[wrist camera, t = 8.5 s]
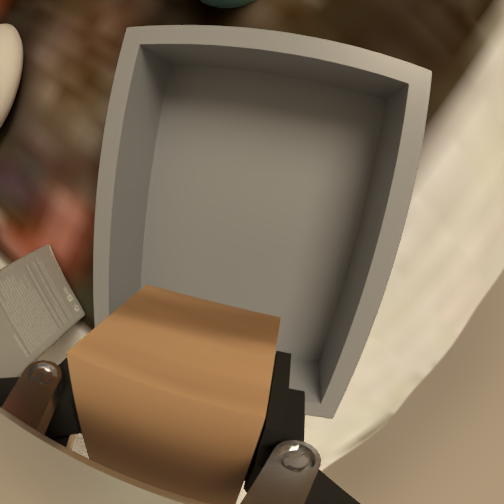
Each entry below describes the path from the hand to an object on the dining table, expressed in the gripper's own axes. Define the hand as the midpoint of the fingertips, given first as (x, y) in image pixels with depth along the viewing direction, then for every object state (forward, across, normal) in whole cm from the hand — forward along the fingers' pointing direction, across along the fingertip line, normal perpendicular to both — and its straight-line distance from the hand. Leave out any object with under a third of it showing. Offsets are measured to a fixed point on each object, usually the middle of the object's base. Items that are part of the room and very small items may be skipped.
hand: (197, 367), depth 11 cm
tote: (+9, 0, -4) cm, 10 cm away
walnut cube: (+1, 0, 0) cm, 1 cm away
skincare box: (+9, +16, +6) cm, 19 cm away
